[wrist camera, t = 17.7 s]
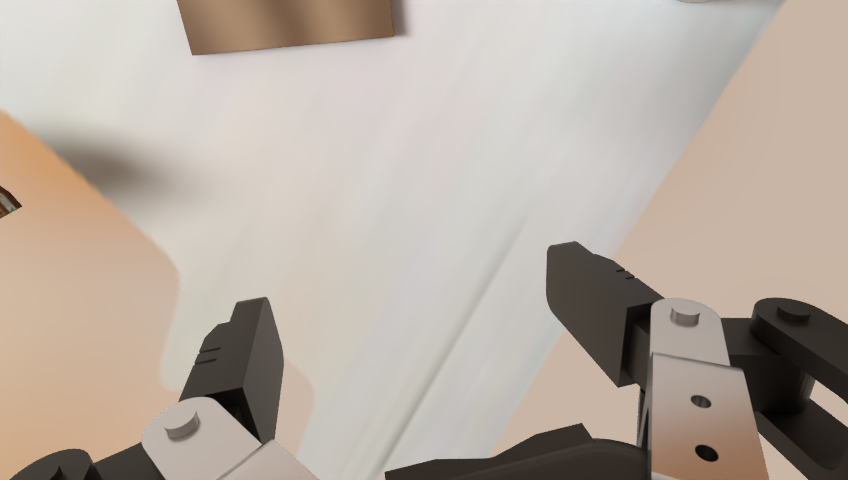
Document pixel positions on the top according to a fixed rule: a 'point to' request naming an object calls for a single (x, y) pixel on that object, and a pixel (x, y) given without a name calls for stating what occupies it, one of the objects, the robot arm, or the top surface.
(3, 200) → the food container
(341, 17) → the walnut board
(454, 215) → the top surface
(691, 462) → the robot arm
